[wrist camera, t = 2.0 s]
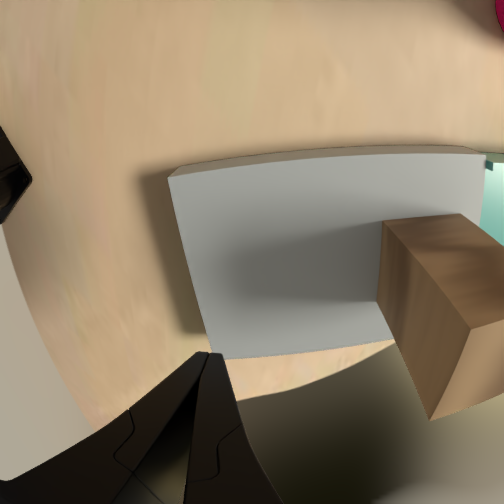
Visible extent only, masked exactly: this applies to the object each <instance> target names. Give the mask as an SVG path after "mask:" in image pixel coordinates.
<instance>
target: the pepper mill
mask: <svg viewBox="0 0 504 504" xmlns="http://www.w3.org/2000/svg"><path fill="white" fill-rule="evenodd" d="M495 4H496V12H497V16H498V20H499V23H500V25H501V27H502V29H503V32H504V0H496V3H495Z"/></svg>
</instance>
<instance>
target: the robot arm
mask: <svg viewBox="0 0 504 504" xmlns="http://www.w3.org/2000/svg"><path fill="white" fill-rule="evenodd" d="M26 178H27V181H26ZM31 183H32V176H31V174H30V173H29V171H28V170H27V168H26V167H25V165H24V164H23V162H22V161H21V159H20V157H19V156H18V154H17V153H16V151H15V150H14V148H13V146H12V145H11V143H10V141H9V140H8V138H7V136H6V135H5V133H4V131H3V130H2V128H1V126H0V224H2V223H4V222H5V220H6V219H7V217H8V216H9V214H10V213H11V211H12V210H13V208H14V207H15V205H16V204H17V202H18V201H19V200H20V198H21V197H22V195H23V194H24V193H25V191H26V190H27V188H28V187H29V186H30V184H31ZM185 480H186V485H185V492H184V501H183V504H283V502H282V501H281V499H280V497H279V496H278V494H277V492H276V491H275V489H274V487H273V485H272V484H271V482H270V480H269V479H268V477H267V475H266V474H265V472H264V470H263V468H262V466H261V465H260V463H259V461H258V459H257V457H256V455H255V453H254V451H253V449H252V446H251V444H250V442H249V439H248V436H247V433H246V430H245V427H244V425H243V421H242V418H241V415H240V411H239V408H238V405H237V402H236V398H235V395H234V392H233V388H232V385H231V382H230V378H229V375H228V371H227V368H226V364H225V361H224V357H223V354H222V353H213V352H212V353H208V352H200V351H198V352H196V353H195V354H194V355H193V356H191V357H190V358H189V359H188V360H187V361H185V362H184V363H183V364H182V365H181V366H180V367H178V368H177V369H176V370H175V371H174V372H172V373H171V374H170V375H169V376H168V377H166V378H165V379H164V380H163V381H162V382H160V383H159V384H158V385H157V386H156V387H154V388H153V389H152V390H151V391H150V392H148V393H147V394H146V395H145V396H144V397H142V398H141V399H140V400H139V401H137V402H136V403H135V404H134V405H132V406H131V407H130V408H129V410H128V409H127V410H126V411H124V412H123V413H122V414H121V415H119V416H118V417H117V418H115V419H114V420H113V421H111V422H110V423H109V424H107V425H106V426H104V427H103V428H101V429H100V430H98V431H97V432H95V433H94V434H92V435H90V436H89V437H87V438H85V439H84V440H82V441H80V442H79V443H77V444H75V445H74V446H72V447H70V448H68V449H67V450H65V451H63V452H61V453H60V454H58V455H56V456H54V457H53V458H51V459H49V460H47V461H46V462H44V463H42V464H40V465H38V466H37V467H35V468H33V469H31V470H29V471H27V472H25V473H24V474H22V475H20V476H18V477H16V478H14V479H12V480H8V481H4V480H0V504H178V503H179V500H180V496H181V493H182V490H183V487H184V483H185Z"/></svg>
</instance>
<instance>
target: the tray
mask: <svg viewBox="0 0 504 504" xmlns="http://www.w3.org/2000/svg"><path fill="white" fill-rule="evenodd" d="M480 153H483V154H485V155H486V170H485V183H484V193H483V202H482V210H481V217H480V224H479V227H480V228H481V229H482V230H484V231H485V232H486V233H488V234H489V235H490V236H491V237H493V238H494V239H495V240H496V241H498V242H499V243H500V244H501V245H503V246H504V154H501V153H485V152H480Z"/></svg>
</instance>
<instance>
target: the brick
mask: <svg viewBox="0 0 504 504" xmlns="http://www.w3.org/2000/svg"><path fill="white" fill-rule="evenodd" d="M376 302H377V304H378V306H379V308H380V310H381V312H382V314H383V316H384V318H385V320H386V323H387V325H388V327H389V329H390V331H391V333H392V335H393V337H394V339H395V342H396V344H397V346H398V348H399V350H400V352H401V355H402V357H403V359H404V361H405V364H406V366H407V368H408V370H409V373H410V375H411V377H412V380H413V382H414V384H415V387H416V389H417V392H418V394H419V396H420V399H421V401H422V404H423V406H424V409H425V411H426V414H427V416H428V419H429V421H431V420H434V419H438V418H441V417H443V416H447V415H449V414H452V413H455V412H458V411H460V410H463V409H466V408H469V407H471V406H474V405H476V404H479V403H481V402H484V401H486V400H488V399H490V398H493V397H495V396H497V395H500V394H502V393H504V246H503V245H501V244H500V243H499V242H498V241H496V240H495V239H494V238H493V237H491V236H490V235H489V234H488V233H486V232H485V231H484V230H482V229H481V228H480V227H478V226H477V225H476V224H474V223H473V222H472V221H470V220H469V219H468V218H466V217H465V216H463V215H462V214H461V213H459V214H447V215H436V216H424V217H413V218H402V219H391V220H382V238H381V254H380V268H379V279H378V290H377V299H376Z"/></svg>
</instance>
